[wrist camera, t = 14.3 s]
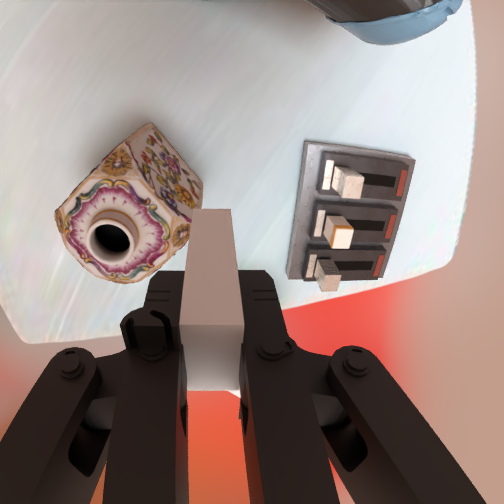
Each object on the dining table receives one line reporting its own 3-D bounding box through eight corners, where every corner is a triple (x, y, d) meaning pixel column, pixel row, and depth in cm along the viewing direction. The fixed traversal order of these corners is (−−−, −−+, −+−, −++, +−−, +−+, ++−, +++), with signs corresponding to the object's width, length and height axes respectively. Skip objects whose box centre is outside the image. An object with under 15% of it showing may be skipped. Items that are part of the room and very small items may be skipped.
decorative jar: (152, 119, 37) (108, 150, 21) (206, 184, 42) (202, 253, 27) (90, 176, 39) (29, 238, 24) (143, 233, 45) (113, 316, 30)
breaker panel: (304, 141, 40) (322, 155, 34) (408, 156, 42) (438, 172, 36) (285, 272, 51) (296, 303, 44) (377, 271, 53) (397, 299, 46)
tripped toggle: (326, 215, 42) (336, 228, 39) (343, 216, 42) (354, 229, 39) (322, 234, 43) (331, 248, 40) (339, 234, 44) (349, 249, 40)
